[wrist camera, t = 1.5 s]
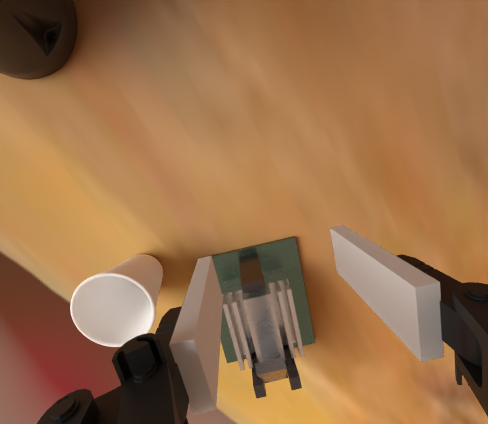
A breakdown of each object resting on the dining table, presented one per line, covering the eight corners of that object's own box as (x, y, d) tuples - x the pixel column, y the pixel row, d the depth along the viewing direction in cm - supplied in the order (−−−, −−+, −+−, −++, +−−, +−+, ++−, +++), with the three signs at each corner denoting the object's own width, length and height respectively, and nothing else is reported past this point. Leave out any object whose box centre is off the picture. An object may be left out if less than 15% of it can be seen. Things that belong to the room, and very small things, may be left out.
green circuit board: (198, 258, 40) (187, 291, 30) (294, 236, 40) (314, 261, 30) (227, 359, 44) (226, 417, 34) (313, 339, 44) (337, 391, 34)
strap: (252, 362, 25) (254, 376, 24) (285, 355, 25) (288, 369, 24) (263, 373, 36) (265, 383, 36) (285, 368, 36) (288, 378, 36)
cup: (184, 288, 41) (166, 334, 30) (127, 305, 41) (90, 356, 30) (163, 234, 39) (137, 262, 28) (103, 252, 39) (55, 287, 28)
